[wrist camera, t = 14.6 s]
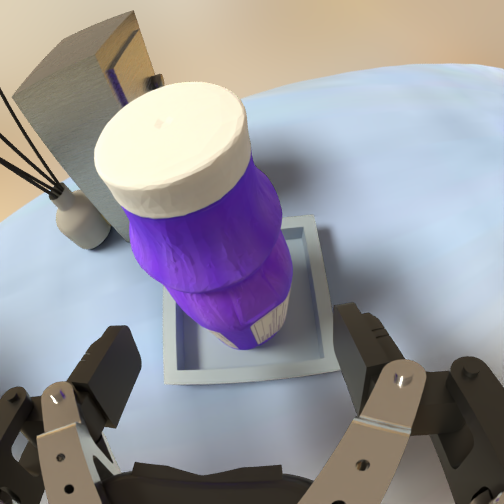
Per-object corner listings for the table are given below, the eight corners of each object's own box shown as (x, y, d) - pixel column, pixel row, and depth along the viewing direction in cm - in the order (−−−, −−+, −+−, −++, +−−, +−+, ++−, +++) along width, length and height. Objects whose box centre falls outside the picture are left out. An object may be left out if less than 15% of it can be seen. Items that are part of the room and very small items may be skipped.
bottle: (300, 322, 21) (358, 145, 6) (238, 367, 20) (108, 305, 4) (245, 251, 24) (197, 44, 8) (187, 291, 23) (54, 122, 7)
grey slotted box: (124, 242, 26) (8, 98, 10) (134, 178, 30) (60, 40, 13) (195, 233, 26) (110, 48, 10) (197, 166, 29) (145, 6, 13)
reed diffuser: (124, 259, 25) (-21, 93, 7) (68, 286, 25) (-84, 164, 7) (110, 184, 30) (22, 40, 12) (63, 210, 29) (-37, 89, 11)
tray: (176, 384, 20) (164, 384, 18) (175, 245, 26) (165, 231, 23) (333, 371, 20) (340, 369, 18) (310, 230, 25) (313, 214, 23)
